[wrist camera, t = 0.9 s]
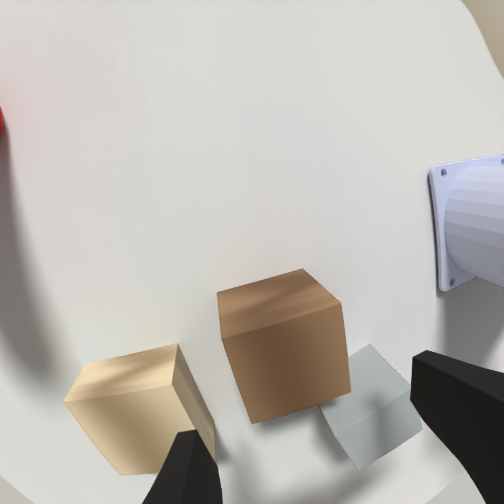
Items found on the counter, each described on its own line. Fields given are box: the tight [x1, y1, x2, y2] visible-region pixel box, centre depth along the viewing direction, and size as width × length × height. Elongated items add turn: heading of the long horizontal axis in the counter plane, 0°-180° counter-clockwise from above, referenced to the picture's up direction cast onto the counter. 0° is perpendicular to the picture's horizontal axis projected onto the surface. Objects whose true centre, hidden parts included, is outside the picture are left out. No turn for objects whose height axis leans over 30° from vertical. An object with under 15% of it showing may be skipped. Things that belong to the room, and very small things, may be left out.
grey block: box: [318, 344, 422, 470], centre depth 16 cm, size 4×4×5 cm
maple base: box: [64, 343, 216, 475], centre depth 14 cm, size 6×6×4 cm
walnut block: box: [217, 268, 351, 424], centre depth 14 cm, size 4×4×5 cm
